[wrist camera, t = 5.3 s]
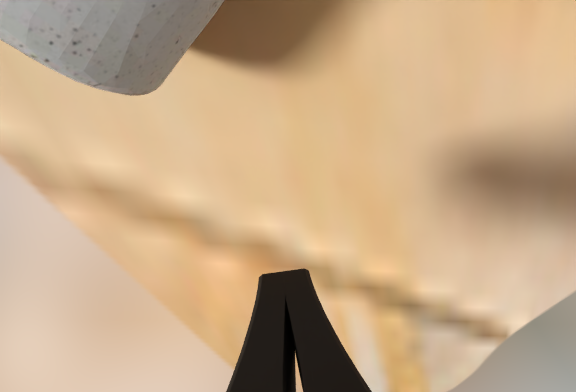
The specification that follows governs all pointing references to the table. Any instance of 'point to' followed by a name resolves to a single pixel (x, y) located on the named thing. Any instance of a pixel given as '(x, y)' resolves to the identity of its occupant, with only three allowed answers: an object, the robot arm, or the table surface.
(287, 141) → the table surface
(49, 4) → the ceramic mug
